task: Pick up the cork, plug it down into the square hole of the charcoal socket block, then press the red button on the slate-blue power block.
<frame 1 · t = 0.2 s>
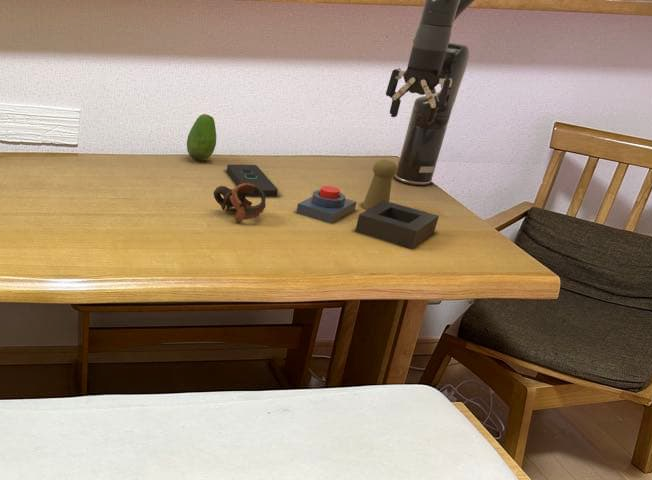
hand: (410, 120, 179), 18 cm above the table, tool pointing down, fingers open, 8 cm apart
cork: (375, 208, 180), on the table
socket: (394, 232, 167), on the table
power button: (329, 192, 173), point 4 cm above the table, slide at 0.1 cm
brown looped knot: (237, 216, 170), on the table
smart home device: (250, 183, 190), on the table
power block: (325, 211, 175), on the table
avocado: (199, 160, 204), on the table
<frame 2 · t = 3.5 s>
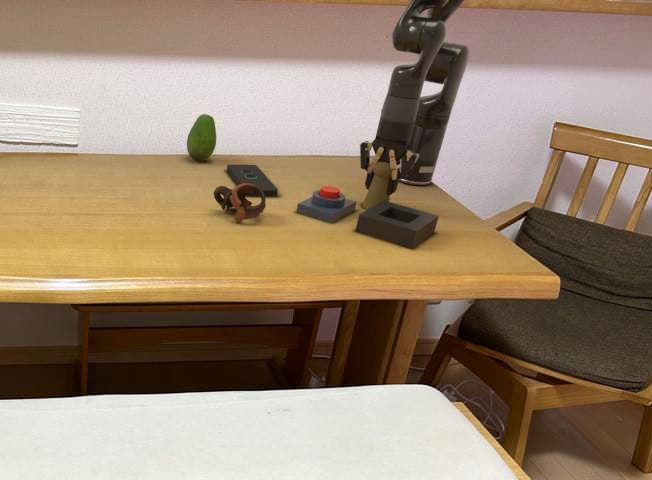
hand: (379, 191, 177), 4 cm above the table, tool pointing down, fingers closed on cork, 4 cm apart
cork: (375, 208, 180), on the table, touching gripper
everything else where it was.
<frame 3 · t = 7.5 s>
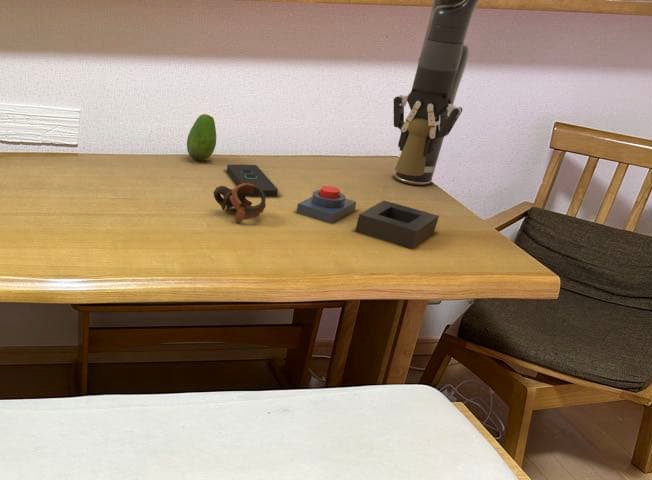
hand: (414, 152, 158), 17 cm above the table, tool pointing down, fingers closed on cork, 4 cm apart
cork: (409, 172, 160), point 13 cm above the table, touching gripper
everything else where it was.
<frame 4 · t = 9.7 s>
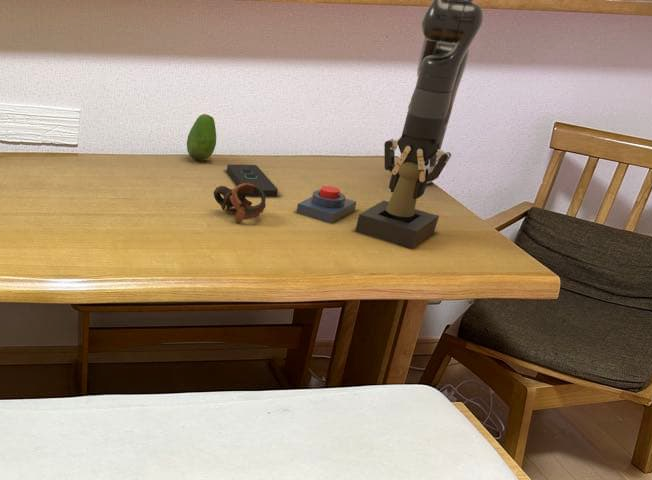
hand: (404, 194, 162), 9 cm above the table, tool pointing down, fingers closed on cork, 4 cm apart
cork: (399, 212, 164), point 4 cm above the table, touching gripper
everything else where it was.
when the fingers open (4 cm above the table, at t = 11.8 s): cork stays where it is, resting in socket.
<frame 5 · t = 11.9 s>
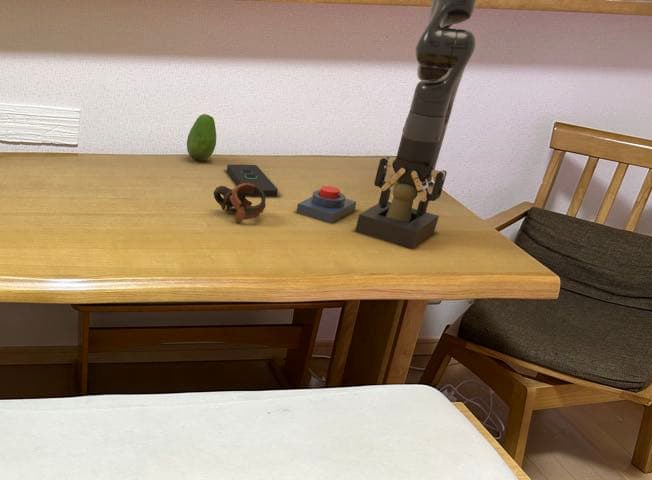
hand: (400, 212, 164), 5 cm above the table, tool pointing down, fingers open, 7 cm apart
cork: (394, 232, 167), resting in socket
everything else where it was.
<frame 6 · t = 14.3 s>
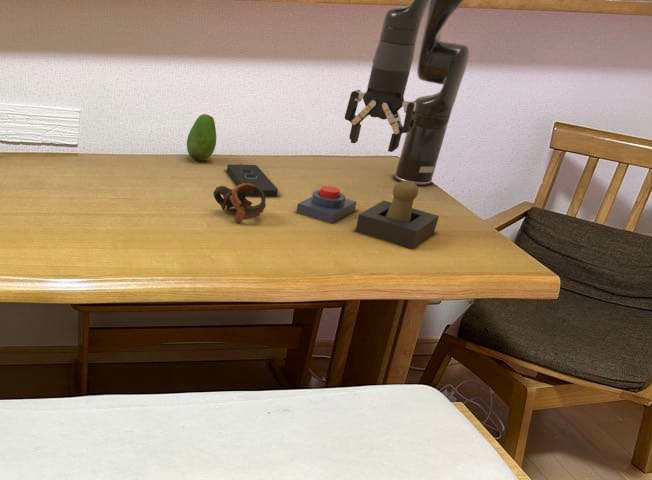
hand: (372, 146, 162), 17 cm above the table, tool pointing down, fingers open, 8 cm apart
nothing on the table moved.
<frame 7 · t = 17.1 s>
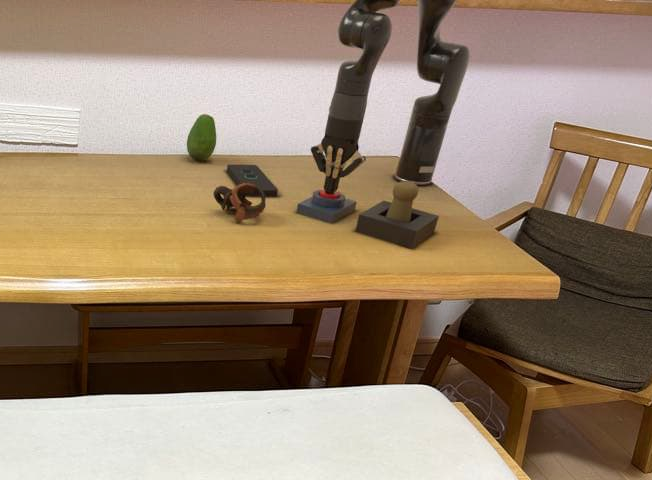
hand: (329, 192, 173), 5 cm above the table, tool pointing down, fingers closed
power button: (328, 196, 173), point 4 cm above the table, slide at -0.7 cm, touching gripper
everything else where it was.
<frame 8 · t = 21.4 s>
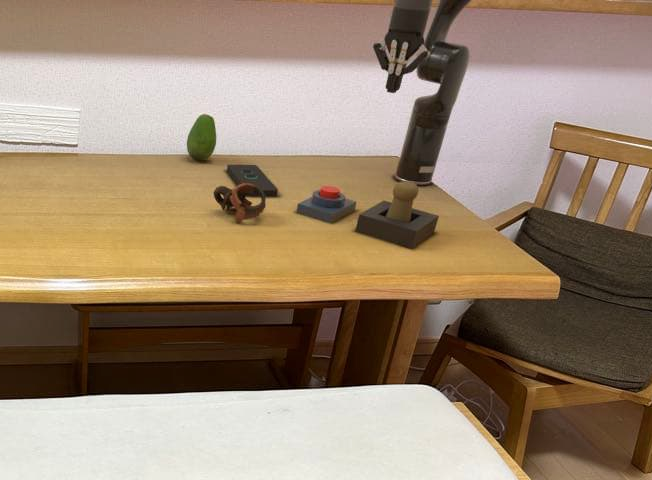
hand: (391, 92, 169), 25 cm above the table, tool pointing down, fingers closed
power button: (329, 192, 173), point 4 cm above the table, slide at 0.1 cm
everything else where it was.
at the end: cork 0.1 cm off-centre in the socket, point 0.0 cm above the socket's base; power button pushed in 1.0 cm at the most during the clip, back to where it started at the end; power button slide at 0.1 cm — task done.
